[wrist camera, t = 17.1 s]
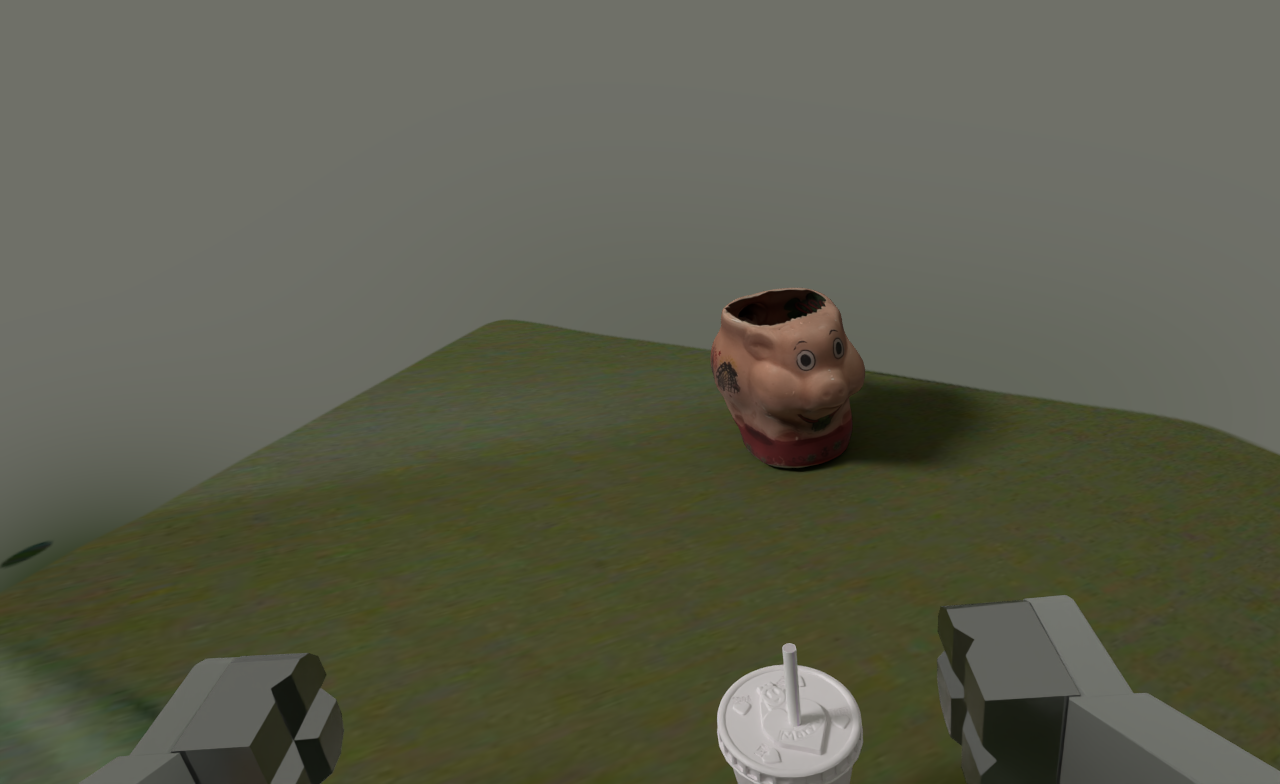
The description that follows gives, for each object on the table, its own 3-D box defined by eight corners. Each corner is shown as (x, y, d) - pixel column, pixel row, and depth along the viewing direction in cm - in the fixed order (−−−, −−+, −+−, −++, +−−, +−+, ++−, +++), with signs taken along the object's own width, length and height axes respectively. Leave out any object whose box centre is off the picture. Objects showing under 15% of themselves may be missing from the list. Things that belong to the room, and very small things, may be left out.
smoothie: (780, 950, 38) (757, 724, 32) (710, 837, 43) (679, 625, 37) (895, 880, 40) (894, 656, 34) (815, 781, 45) (801, 572, 39)
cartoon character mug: (680, 418, 86) (663, 289, 80) (781, 384, 90) (772, 258, 84) (789, 508, 69) (779, 353, 63) (908, 461, 73) (909, 311, 67)
